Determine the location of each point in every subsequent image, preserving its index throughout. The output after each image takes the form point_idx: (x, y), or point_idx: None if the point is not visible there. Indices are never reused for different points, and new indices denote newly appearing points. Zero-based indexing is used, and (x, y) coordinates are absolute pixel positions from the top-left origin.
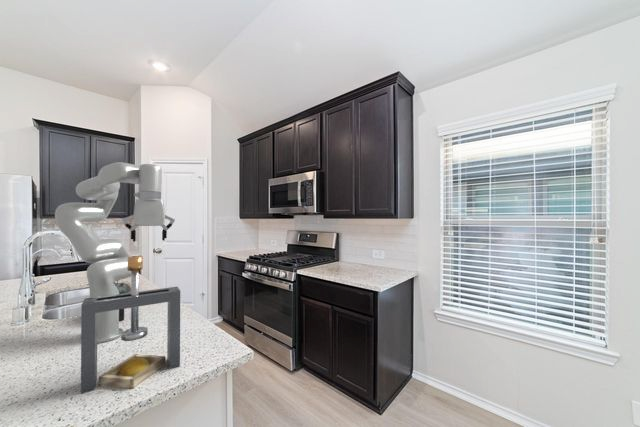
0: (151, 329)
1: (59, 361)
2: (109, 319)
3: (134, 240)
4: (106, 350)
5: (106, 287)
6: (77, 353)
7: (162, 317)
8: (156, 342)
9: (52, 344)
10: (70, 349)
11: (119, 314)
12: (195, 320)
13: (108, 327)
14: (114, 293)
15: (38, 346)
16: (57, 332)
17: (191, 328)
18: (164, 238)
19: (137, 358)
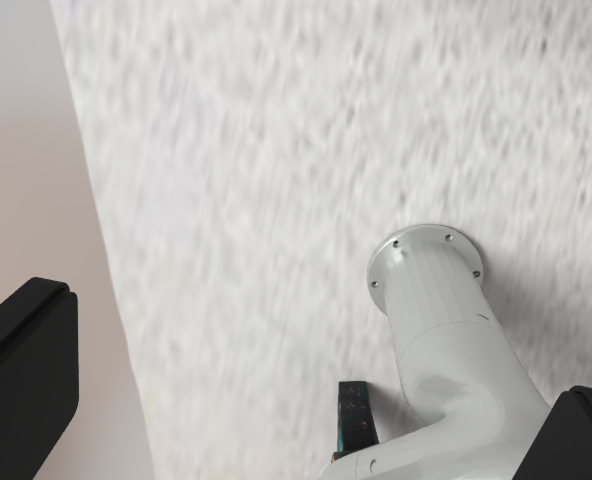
0: (282, 234)
1: (575, 161)
2: (432, 274)
3: (589, 394)
4: (447, 146)
5: (486, 368)
6: (520, 189)
7: (224, 325)
8: (295, 90)
9: (551, 319)
10: (526, 240)
11: (354, 399)
12: (121, 211)
13: (429, 258)
14: (434, 349)
15: (582, 330)
16: None
17: (152, 136)
18: (16, 294)
19: None
